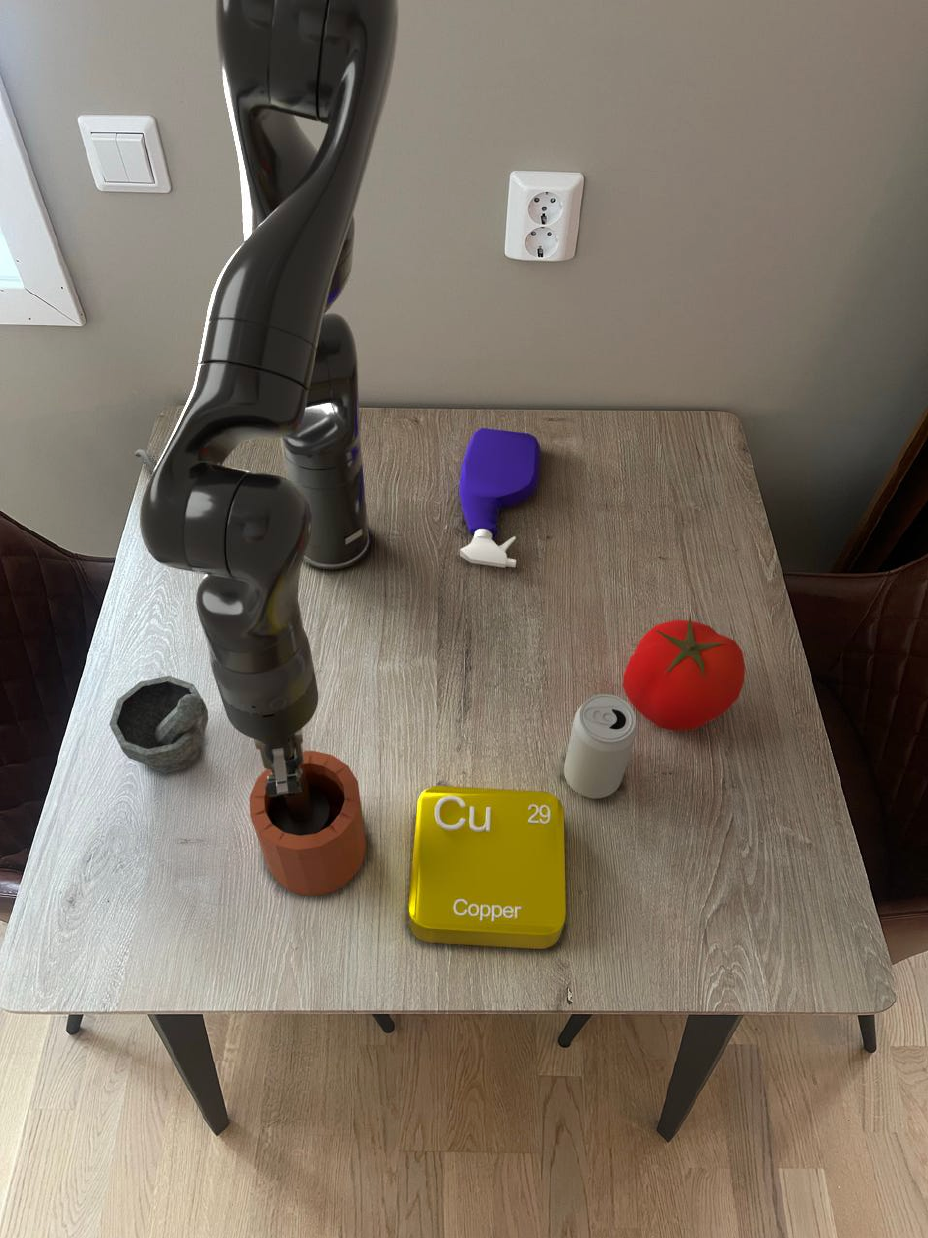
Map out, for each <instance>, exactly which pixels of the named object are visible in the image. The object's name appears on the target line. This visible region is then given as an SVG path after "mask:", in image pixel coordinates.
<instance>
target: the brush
mask: <svg viewBox="0 0 928 1238" xmlns="http://www.w3.org/2000/svg"><path fill="white" fill-rule="evenodd" d="M294 746H295V744H294ZM300 767H301V768H302V770H303V774H302V779H303V783H304V792H303V793H302V794H300V796H295V797H288V798H284V796H280V797H279V798H278V800H277V801H276V803H275V805H274V808H273V821H274V825H275V826H276V827H277V828H278V829H280V830H281V831H283V832H284V833H288V834H293V835H297V836H304V835H310V834H316V833H318V832H320V831H322V830H323V829H325V828H327V827H329V826H330V825H331V824H332V823H333V822H332V817H331V811H330V806H329V802H328V800H327V798H326V797H325V795H324V794H323V793H322V792H320V791H319V790H317V789H315V788H312V787H308V783H307V779H306V774H305V770H304V765H303V763H302V764H300Z"/></svg>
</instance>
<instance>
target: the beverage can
mask: <svg viewBox="0 0 928 1238" xmlns="http://www.w3.org/2000/svg"><path fill="white" fill-rule="evenodd" d="M637 735H638V720H637V717H636V713H635V711H634V709H633V707H632V706H631V705H630V703H628V701H626V700H625V699H623V698H622V697H619V696H617V695H614V694H610V693H602V694H601V693H600V694H599V693H598V694H594V695H592V696H590V697H589V698H588V699H586V700H585V701H584V702H583V704H581V705H580V706H579V707H578V708H577V710H576V712H575V715H574V719H573V724H572V728H571V732H570V737H569V741H568V745H567V746H568V747H567V750H566V755H565V760H564V765H563V774H564V778H565V781H566V782H567V784H568V786H569V787H570V788H571V789H572V790H573V791H574V792H575V793H577V794H578V795H580V796H582V797H585V798H587V799H588V798H589V799H602V798H606V797H609V796H611V795H612V794H614V793H615V792H616V791H617V789H619V788H620V785H621V784H622V781H623V779H624V778H623V777H624V775H625V771H626V768H627V766H628V762H629V760H630V759H629V758H630V756H631V753H632V750H633V746H634V744H635V740H636V737H637Z"/></svg>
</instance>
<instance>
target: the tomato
mask: <svg viewBox="0 0 928 1238" xmlns="http://www.w3.org/2000/svg"><path fill="white" fill-rule="evenodd" d="M691 614H692V613H691V612H690V613H689V619H688V620H687V619H674V620H673V619H672V620H670V621H669V620H668V621H665V622H661V623H659V624H656V625H654V626H653V627H652V628H651V629H649V630H648V631H647V632H646V633H645V634H644V635H643V636H642V637H641V639H640V640H639V641H638V644H637V646H636V647H635V650H634V653H633V654H632V655H631V656H630V657H629V660H628V663H627V665H626V668H625V670H624V673H623V679H622V687H623V688H622V689H623V690H624V692H625V694H626V697H627V698H628V700H629V702H630V703H631V705H632V706H633V708H634V709H635V710H636V711H637V712H638V713H640V714H641V715H642V716H643V717H644V718H645V719H647V720H648V721H650V723H652V724H654V725H655V726H657V727H658V728H660V729H664V730H668V731H672V732H677V731H678V732H679V731H691V730H696V729H698V728H701V727H702V726H704V725H706V724H708V723H710V722H711V721H714V720H715V719H717V718H719V717H720V716H722V715H723V714H724V713H726V712H727V711H728V710H729V709H730V708H731V706H732V705H734V703H735V702H736V701H737V700H738V699H739V697H740V695H741V691H742V688H743V685H744V682H745V675H746V674H745V673H746V665H745V660H744V659H745V658H744V653H743V649H741V648H740V646H739V645H738V643H737V642H736V641H735V639H732V638H730V637H727V636H725V635H722V634H719V633H718V632H717V631H716V630H714V628H713V627H712V626H710V625H709V624H705V623H701V622H698V621H694V620H692V615H691Z"/></svg>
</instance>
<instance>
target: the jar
mask: <svg viewBox="0 0 928 1238" xmlns="http://www.w3.org/2000/svg"><path fill="white" fill-rule="evenodd" d="M303 756H304V762H303V765H304V770H305V774H306V779H307V783H308V787H312V788H315V789H317V790H319V791H320V792H322V793H323V794H324V795H325V797H326V798H327V800H328V802H329V806H330V811H331V817H332V822H333V823H332V824H331V825H330V826H329V827H327V828H325V829H323V830H322V831H320V832H318V833H316V834H310V835H304V836H297V835H293V834H288V833H284V832H283V831H281V830H280V829H278V828H277V827H276V826H275V825H274V821H273V808H274V805H275V803H276V801H277V800H278V798H279V797H280V796H281V795H279V796H276V797H272V796H268V793H267V792H266V790H265V786H267V785H266V782H267V781H268V780H267V776H270V775H271V770H270V769H266V768H265V769H264V771H262V773H261V774H259V776H258V777H257V778H256V780H255V782H254V785H253V787H252V790H251V792H250V795H249V816H250V820H251V823H252V825H253V829H254V832H255V835H256V837H257V840H258V844H259V846H260V849H261V852H262V855H263V857H264V860H265V863H266V865H267V867H268V869H269V872H270V874H271V875H272V877H273V878H274V879H275V881H276V882H277V883H278V884H279V885H281V886H282V887H283V888H285V889H286V890H287V891H290V892H292V893H294V894H297V895H301V896H305V897H307V896H308V897H315V896H322V895H327V894H331V893H333V892H335V891H338V890H339V889H341V888H342V887H344V886H345V885H347V884H348V883H349V882H350V881H351V880H352V879H353V878H354V877H355V876H356V875H357V873H358V872H359V870H360V868H361V867H362V865H363V862H364V859H365V855H366V852H367V851H366V850H367V840H366V832H365V823H364V817H363V816H364V815H363V810H362V802H361V794H360V788H359V781H358V780H357V778H356V776H355V774H354V773H353V771H352V770H351V768H350V766H349V765H348V764H346V763H345V762H343V761H342V760H341V759H339V758H338V757H336V756H334V755H333V754H331V753H326V752H322V751H321V752H320V751H316V750H305V751H304V750H303Z"/></svg>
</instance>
